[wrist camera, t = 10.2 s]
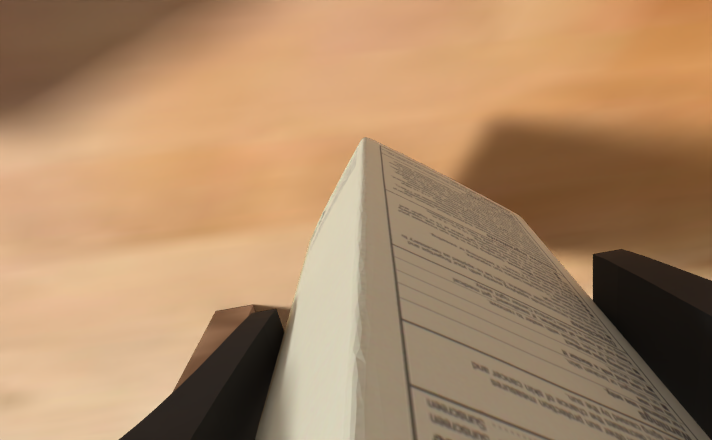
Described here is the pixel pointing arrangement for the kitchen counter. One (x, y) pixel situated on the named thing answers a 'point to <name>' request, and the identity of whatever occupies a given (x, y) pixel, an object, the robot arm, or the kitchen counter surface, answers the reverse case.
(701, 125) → the kitchen counter surface
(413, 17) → the kitchen counter surface
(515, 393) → the skincare box
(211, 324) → the backstop board
